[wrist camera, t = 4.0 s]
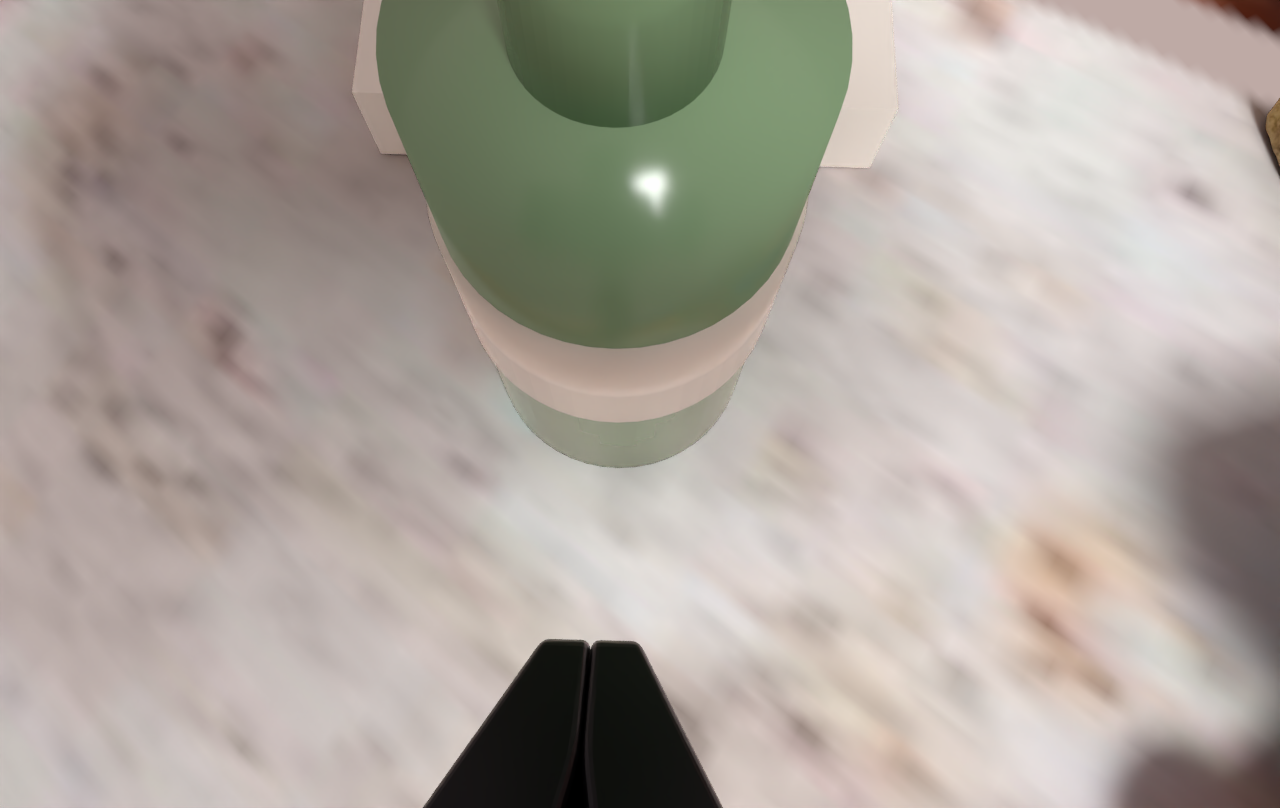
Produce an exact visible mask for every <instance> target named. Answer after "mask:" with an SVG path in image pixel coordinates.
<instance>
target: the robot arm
mask: <svg viewBox="0 0 1280 808" xmlns="http://www.w3.org/2000/svg"><path fill="white" fill-rule="evenodd" d="M423 808H723V807H722V805H721V803H720V801H719V799H718V797H717V795H716V793H715V791H714V789H713V787H712V785H711V783H710V781H709V779H708V777H707V775H706V773H705V771H704V769H703V767H702V765H701V763H700V761H699V759H698V757H697V755H696V753H695V751H694V749H693V747H692V745H691V743H690V741H689V739H688V737H687V735H686V733H685V732H684V730H683V728H682V726H681V724H680V722H679V720H678V718H677V716H676V714H675V712H674V710H673V708H672V706H671V704H670V702H669V700H668V698H667V696H666V694H665V692H664V690H663V688H662V686H661V684H660V682H659V680H658V678H657V676H656V674H655V672H654V670H653V668H652V666H651V664H650V662H649V660H648V658H647V656H646V654H645V652H644V650H643V649H642V647H641V646H640V645H639V644H638V643H636V642H634V641H603V640H600V641H596V642H595V643H593V645H592V647H591V650H590V646H589V644H588V643H587V642H586V641H584V640H562V639H547V640H545V641H543V642H541V643H540V644H539V645H538V647H537V648H536V649H535V651H534V652H533V653H532V655H531V656H530V658H529V659H528V660H527V662H526V663H525V665H524V666H523V667H522V669H521V670H520V672H519V673H518V675H517V676H516V677H515V679H514V680H513V682H512V683H511V684H510V686H509V687H508V689H507V690H506V691H505V693H504V694H503V696H502V697H501V698H500V700H499V701H498V703H497V704H496V705H495V707H494V708H493V710H492V711H491V713H490V714H489V715H488V717H487V718H486V720H485V721H484V722H483V724H482V725H481V727H480V728H479V729H478V731H477V732H476V734H475V735H474V736H473V738H472V739H471V741H470V742H469V743H468V745H467V746H466V748H465V749H464V750H463V752H462V753H461V755H460V756H459V758H458V759H457V760H456V762H455V763H454V765H453V766H452V767H451V769H450V770H449V772H448V773H447V774H446V776H445V777H444V779H443V780H442V781H441V783H440V784H439V786H438V787H437V788H436V790H435V791H434V793H433V794H432V796H431V797H430V798H429V800H428V801H427V803H426V804H425V805H424V807H423Z"/></svg>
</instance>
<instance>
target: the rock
mask: <svg viewBox="0 0 1280 808" xmlns="http://www.w3.org/2000/svg"><path fill="white" fill-rule="evenodd" d="M1265 128H1266V131H1267V134H1268V136H1269V138H1270V141H1271V145H1272V149H1273V152H1274V153H1275V155H1276V157H1277V160H1278V164H1279V167H1280V98H1279V100H1278V101H1277V103H1276V104H1275V105H1274V106H1273V108H1272V109H1271V110H1270V112H1269V113H1268V115H1267V118H1266V127H1265Z"/></svg>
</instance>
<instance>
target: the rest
mask: <svg viewBox="0 0 1280 808" xmlns="http://www.w3.org/2000/svg"><path fill="white" fill-rule="evenodd" d="M381 1H382V0H364V2H363V10H362V17H361V25H360V32H359V40H358V48H357V55H356V63H355V71H354V78H353V86H352V94H353V96H354V98H355V100H356V103H357V105H358V107H359V109H360V111H361V113H362V115H363V117H364V119H365V122H366V124H367V126H368V128H369V130H370V132H371V134H372V136H373V138H374V140H375V143H376V145H377V147H378V149H379V151H380V153H381V154H406V151H405V149H404V146H403V144H402V142H401V139H400V137H399V135H398V132H397V130H396V127H395V125H394V123H393V120H392V118H391V116H390V113H389V111H388V108H387V106H386V102H385V99H384V95H383V92H382V89H381V85H380V82H379V75H378V67H377V60H376V29H377V23H378V17H379V12H380V6H381ZM846 3H847V6H848V9H849V15H850V22H851V29H852V67H851V73H850V79H849V85H848V90H847V93H846V96H845V99H844V102H843V105H842V108H841V111H840V114H839V117H838V119H837V122H836V124H835V127H834V130H833V132H832V135H831V138H830V140H829V143H828V145H827V148H826V151H825V153H824V156H823V158H822V161H821V164H820V166H819V167H847V168H870V166H871V164H872V162H873V160H874V158H875V156H876V154H877V152H878V150H879V148H880V146H881V144H882V142H883V140H884V138H885V136H886V133H887V131H888V129H889V127H890V125H891V123H892V121H893V119H894V117H895V115H896V113H897V111H898V93H897V78H896V62H895V47H894V31H893V16H892V0H846Z"/></svg>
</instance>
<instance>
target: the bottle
mask: <svg viewBox="0 0 1280 808" xmlns="http://www.w3.org/2000/svg"><path fill="white" fill-rule="evenodd" d="M376 60H377V67H378V75H379V82H380V85H381V89H382V92H383V95H384V99H385V102H386V106H387V108H388V111H389V113H390V116H391V118H392V120H393V123H394V125H395V127H396V130H397V132H398V135H399V137H400V139H401V142H402V144H403V146H404V149H405V151H406V154H407V156H408V158H409V161H410V163H411V165H412V168H413V170H414V173H415V175H416V177H417V180H418V182H419V184H420V187H421V189H422V192H423V194H424V196H425V199H426V202H427V209H428V216H429V220H430V223H431V227H432V230H433V234H434V237H435V240H436V242H437V244H438V247H439V249H440V251H441V254H442V256H443V258H444V260H445V263H446V265H447V267H448V270H449V272H450V274H451V276H452V279H453V281H454V283H455V286H456V288H457V290H458V292H459V295H460V297H461V299H462V302H463V304H464V306H465V308H466V311H467V313H468V315H469V317H470V320H471V322H472V324H473V327H474V329H475V331H476V333H477V335H478V337H479V340H480V342H481V344H482V346H483V347H484V349H485V351H486V352H487V354H488V355H489V357H490V358H491V360H492V361H493V363H494V364H495V365H496V367H497V370H498V372H499V374H500V377H501V379H502V381H503V384H504V386H505V389H506V391H507V393H508V395H509V398H510V400H511V402H512V404H513V406H514V408H515V410H516V411H517V413H518V414H519V416H520V417H521V419H522V420H523V421H524V423H525V424H526V425H527V426H528V427H529V428H530V430H531V431H532V432H533V433H534V434H535V435H537V436H538V437H539V438H540V439H541V440H542V441H543V442H545V443H546V444H548V445H549V446H551V447H552V448H553V449H555V450H556V451H558V452H560V453H562V454H564V455H566V456H568V457H570V458H573V459H576V460H578V461H581V462H584V463H587V464H592V465H597V466H602V467H615V468H625V467H637V466H643V465H648V464H653V463H656V462H659V461H662V460H665V459H668V458H670V457H672V456H674V455H676V454H678V453H680V452H682V451H684V450H685V449H687V448H688V447H690V446H691V445H693V444H694V443H696V442H697V441H698V440H699V439H700V438H701V437H703V436H704V435H705V434H706V433H707V432H708V431H709V430H710V429H711V427H712V426H713V425H714V424H715V423H716V422H717V420H718V419H719V417H720V416H721V415H722V413H723V412H724V410H725V408H726V406H727V404H728V402H729V400H730V398H731V396H732V394H733V391H734V389H735V386H736V383H737V381H738V378H739V376H740V373H741V370H742V368H743V365H744V362H745V361H746V359H747V358H748V356H749V355H750V353H751V352H752V350H753V349H754V347H755V345H756V343H757V341H758V339H759V337H760V335H761V333H762V330H763V328H764V325H765V323H766V320H767V318H768V315H769V313H770V310H771V308H772V305H773V303H774V300H775V298H776V295H777V293H778V290H779V288H780V285H781V283H782V280H783V278H784V275H785V273H786V270H787V268H788V265H789V263H790V260H791V258H792V255H793V253H794V250H795V248H796V245H797V243H798V240H799V237H800V233H801V230H802V227H803V224H804V220H805V215H806V209H807V203H808V195H809V192H810V190H811V187H812V185H813V182H814V179H815V177H816V174H817V172H818V169H819V166H820V164H821V161H822V158H823V156H824V153H825V151H826V148H827V145H828V143H829V140H830V138H831V135H832V132H833V130H834V127H835V124H836V122H837V119H838V117H839V114H840V111H841V108H842V105H843V102H844V99H845V96H846V93H847V90H848V85H849V79H850V73H851V67H852V29H851V22H850V15H849V9H848V6H847V3H846V0H382V1H381V6H380V12H379V17H378V23H377V29H376Z"/></svg>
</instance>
